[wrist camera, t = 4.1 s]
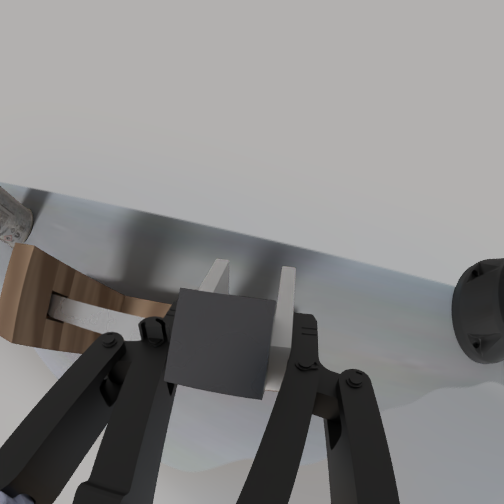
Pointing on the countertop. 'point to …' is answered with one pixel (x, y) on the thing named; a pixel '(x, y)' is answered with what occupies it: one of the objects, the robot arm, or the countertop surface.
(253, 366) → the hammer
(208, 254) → the countertop surface
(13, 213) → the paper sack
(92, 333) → the rail base
